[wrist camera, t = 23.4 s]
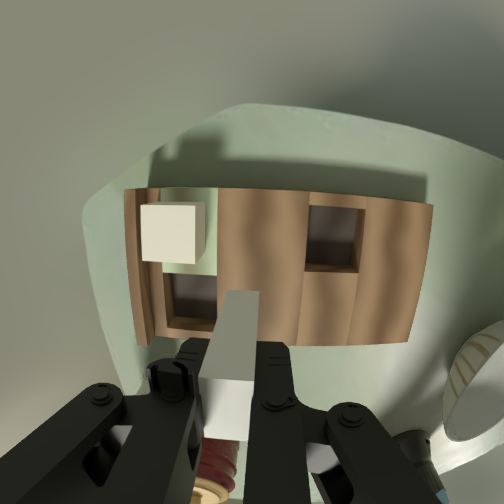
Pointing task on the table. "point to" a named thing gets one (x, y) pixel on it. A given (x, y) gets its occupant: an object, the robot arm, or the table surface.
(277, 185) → the table surface
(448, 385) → the decorative bowl
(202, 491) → the canister
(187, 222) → the block
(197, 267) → the board
